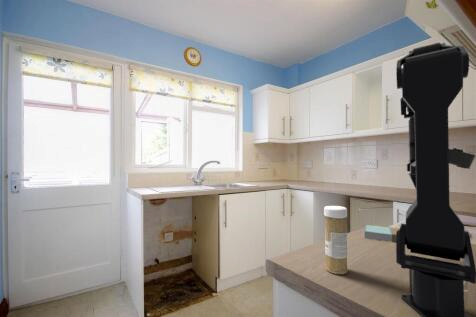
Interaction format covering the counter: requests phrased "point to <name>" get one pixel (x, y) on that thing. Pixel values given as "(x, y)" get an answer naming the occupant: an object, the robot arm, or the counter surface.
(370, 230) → the tile
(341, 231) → the sprinkles bottle
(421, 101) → the robot arm
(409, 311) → the counter surface
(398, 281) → the counter surface
